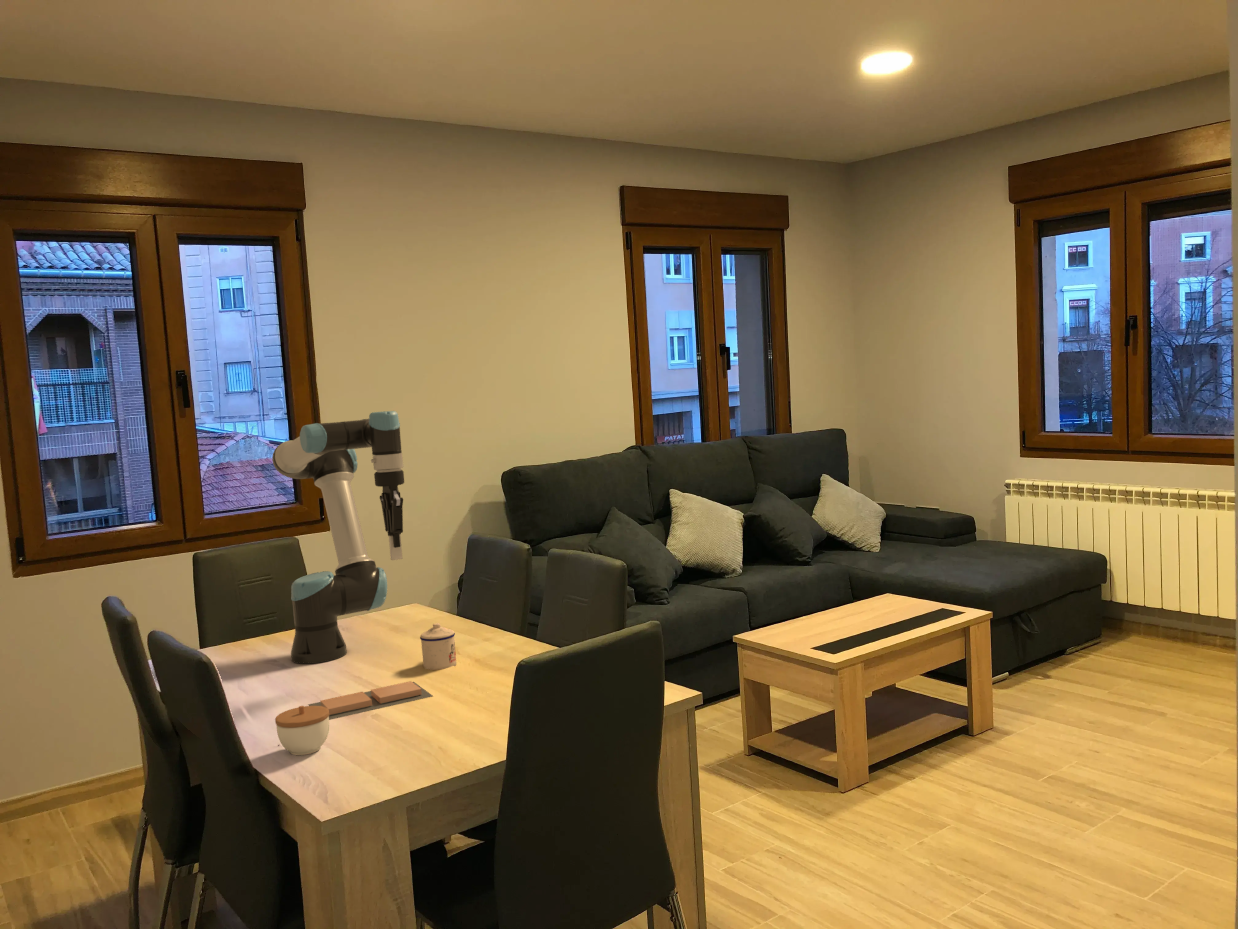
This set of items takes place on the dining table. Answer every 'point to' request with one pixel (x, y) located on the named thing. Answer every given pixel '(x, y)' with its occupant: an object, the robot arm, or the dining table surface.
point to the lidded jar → (303, 729)
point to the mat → (377, 704)
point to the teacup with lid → (438, 648)
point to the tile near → (346, 703)
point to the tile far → (396, 692)
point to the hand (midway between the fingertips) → (396, 559)
